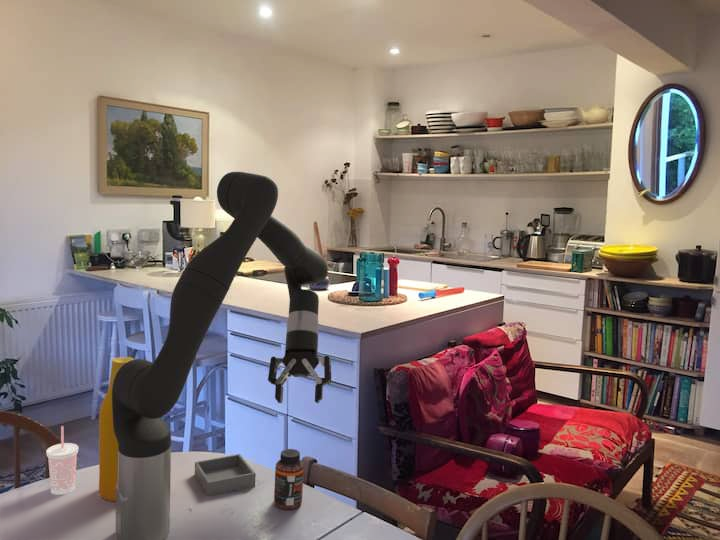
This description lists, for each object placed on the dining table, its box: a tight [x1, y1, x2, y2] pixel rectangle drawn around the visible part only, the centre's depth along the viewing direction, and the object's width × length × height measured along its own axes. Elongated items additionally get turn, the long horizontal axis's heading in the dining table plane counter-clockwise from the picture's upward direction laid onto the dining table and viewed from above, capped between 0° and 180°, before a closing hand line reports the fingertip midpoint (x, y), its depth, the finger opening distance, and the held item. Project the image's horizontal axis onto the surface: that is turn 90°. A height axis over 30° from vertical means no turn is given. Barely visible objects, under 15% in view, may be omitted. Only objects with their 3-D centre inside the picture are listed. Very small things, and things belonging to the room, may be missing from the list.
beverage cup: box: [46, 425, 79, 495], centre depth 126 cm, size 6×6×14 cm
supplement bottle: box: [273, 448, 305, 510], centre depth 126 cm, size 6×6×11 cm
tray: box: [194, 453, 257, 497], centre depth 134 cm, size 11×11×3 cm
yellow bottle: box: [98, 356, 135, 502], centre depth 125 cm, size 9×9×29 cm
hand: (298, 402), depth 134 cm, fingers open, 8 cm apart
